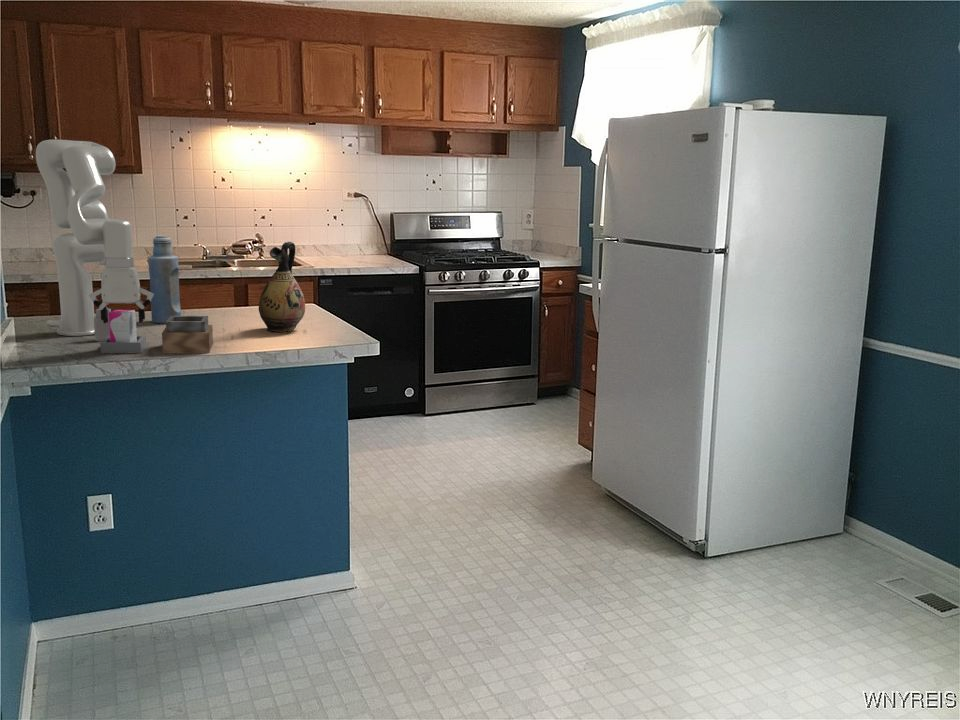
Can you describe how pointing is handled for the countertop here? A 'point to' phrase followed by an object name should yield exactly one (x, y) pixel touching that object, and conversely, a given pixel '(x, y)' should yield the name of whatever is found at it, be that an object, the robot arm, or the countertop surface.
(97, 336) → the power adapter
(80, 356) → the countertop surface
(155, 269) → the bottle
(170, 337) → the raised dock
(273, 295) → the ceramic jug
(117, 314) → the supplement box
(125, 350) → the low collar
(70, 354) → the countertop surface
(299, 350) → the countertop surface
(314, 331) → the countertop surface
